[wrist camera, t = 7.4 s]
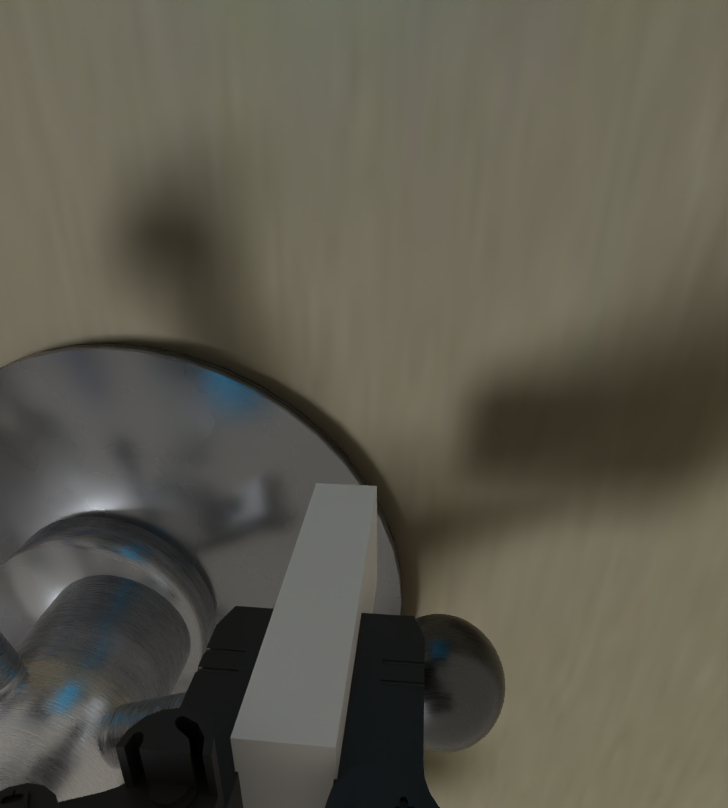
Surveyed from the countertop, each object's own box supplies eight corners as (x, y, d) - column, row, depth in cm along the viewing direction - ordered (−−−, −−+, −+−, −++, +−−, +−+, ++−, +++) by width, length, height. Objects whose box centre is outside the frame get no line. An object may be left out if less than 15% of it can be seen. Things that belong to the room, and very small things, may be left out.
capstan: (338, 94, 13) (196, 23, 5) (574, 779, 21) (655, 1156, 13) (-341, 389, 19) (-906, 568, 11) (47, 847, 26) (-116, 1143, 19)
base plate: (-154, 338, 18) (-180, 346, 17) (405, 349, 16) (403, 359, 16) (-7, 728, 25) (-21, 746, 24) (399, 767, 23) (398, 789, 22)
